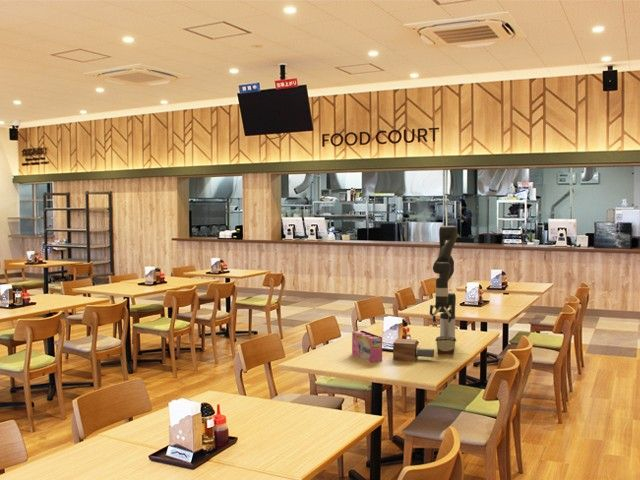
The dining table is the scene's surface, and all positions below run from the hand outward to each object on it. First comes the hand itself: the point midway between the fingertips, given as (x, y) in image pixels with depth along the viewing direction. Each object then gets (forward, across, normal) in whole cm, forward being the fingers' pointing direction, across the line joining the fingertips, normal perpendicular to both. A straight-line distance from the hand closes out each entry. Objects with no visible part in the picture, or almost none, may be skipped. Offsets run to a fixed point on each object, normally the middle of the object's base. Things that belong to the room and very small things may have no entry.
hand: (441, 322), depth 395 cm
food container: (+18, -2, +2) cm, 19 cm away
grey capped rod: (+18, +17, +15) cm, 29 cm away
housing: (+19, +24, +13) cm, 33 cm away
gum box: (+20, +46, +10) cm, 51 cm away
